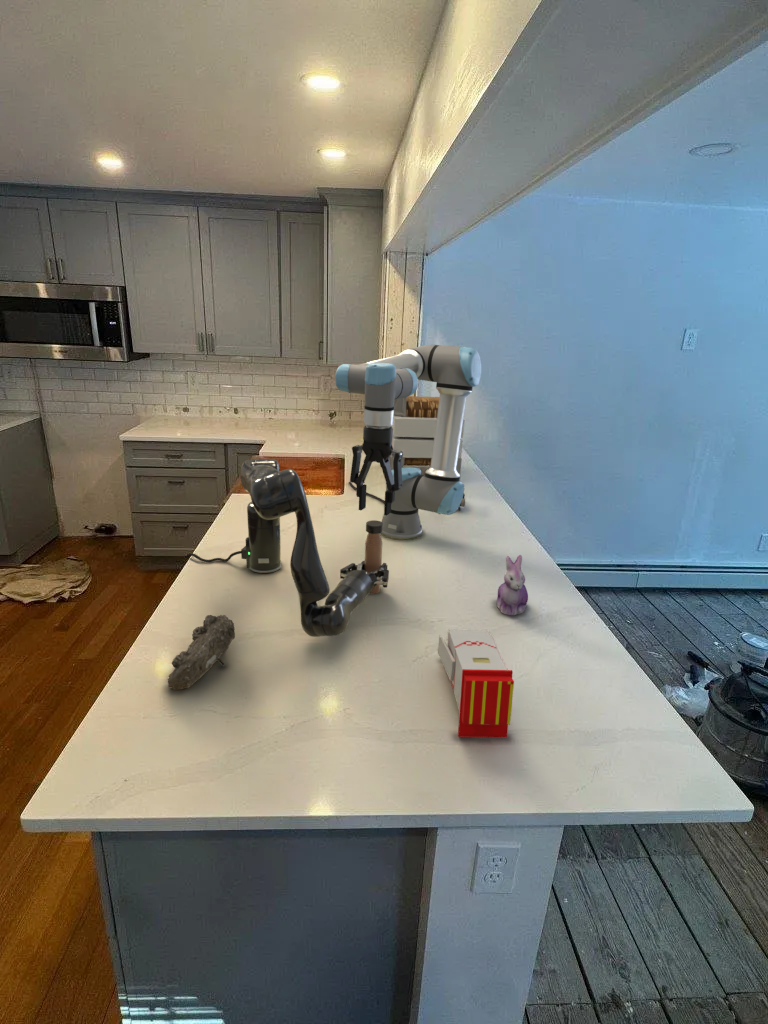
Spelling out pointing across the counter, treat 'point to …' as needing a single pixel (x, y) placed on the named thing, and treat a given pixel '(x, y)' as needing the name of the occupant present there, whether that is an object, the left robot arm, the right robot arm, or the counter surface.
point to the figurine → (512, 589)
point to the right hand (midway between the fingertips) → (374, 511)
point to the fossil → (202, 651)
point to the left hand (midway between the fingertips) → (376, 564)
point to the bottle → (373, 555)
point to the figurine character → (462, 502)
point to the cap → (374, 527)
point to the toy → (478, 682)
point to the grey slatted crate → (417, 430)
